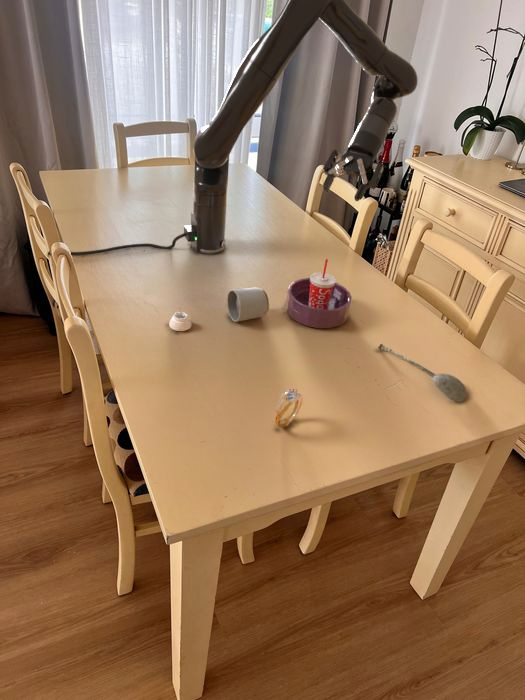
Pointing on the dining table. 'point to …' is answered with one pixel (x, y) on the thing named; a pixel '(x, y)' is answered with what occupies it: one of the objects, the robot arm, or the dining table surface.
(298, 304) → the bowl
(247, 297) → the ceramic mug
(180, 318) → the white jar
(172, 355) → the dining table surface
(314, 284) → the beverage cup
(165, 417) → the dining table surface
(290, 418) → the ring
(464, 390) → the soupspoon
